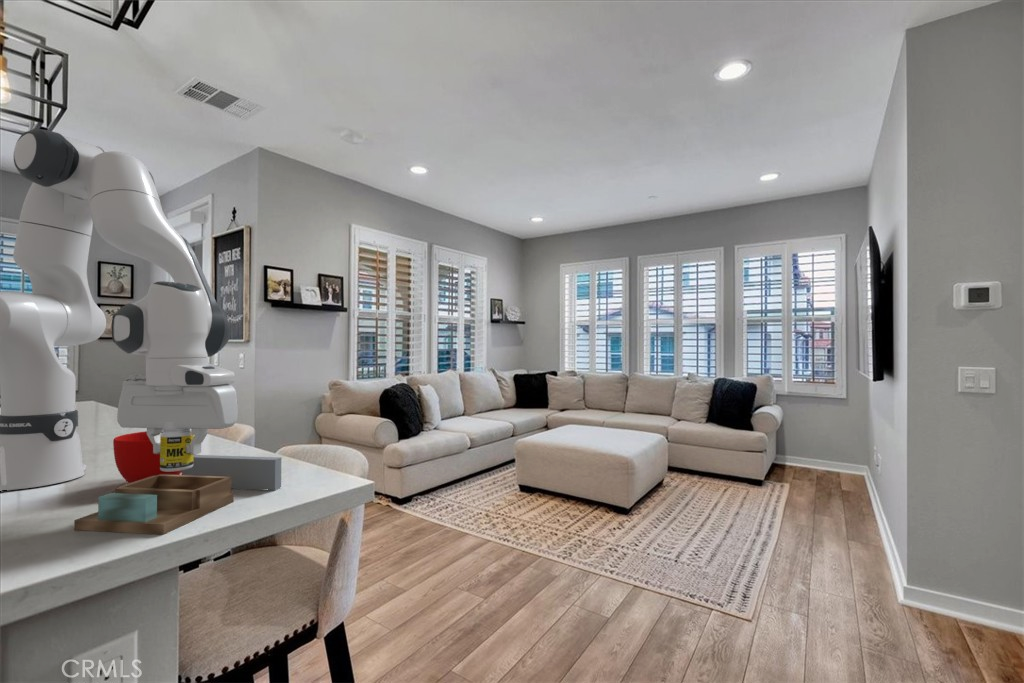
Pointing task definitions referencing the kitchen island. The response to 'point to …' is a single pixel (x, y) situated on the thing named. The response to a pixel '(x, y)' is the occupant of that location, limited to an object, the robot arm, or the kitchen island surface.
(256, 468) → the board
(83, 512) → the kitchen island surface
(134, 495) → the divided wooden tray
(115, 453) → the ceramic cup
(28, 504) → the kitchen island surface
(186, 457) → the supplement bottle
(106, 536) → the kitchen island surface
